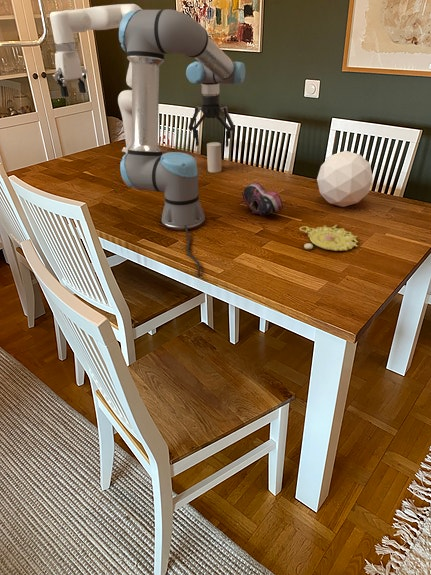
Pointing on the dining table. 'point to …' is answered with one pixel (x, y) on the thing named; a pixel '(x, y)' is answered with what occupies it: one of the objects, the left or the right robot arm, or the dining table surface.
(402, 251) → the dining table surface
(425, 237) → the dining table surface
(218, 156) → the canister
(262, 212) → the athletic shoe
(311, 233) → the decorative object
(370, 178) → the sphere
